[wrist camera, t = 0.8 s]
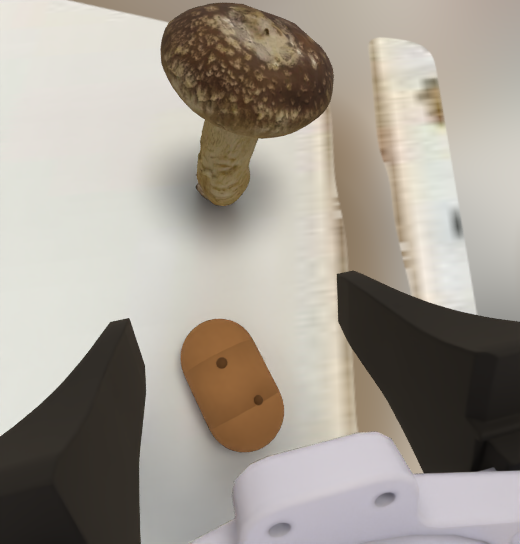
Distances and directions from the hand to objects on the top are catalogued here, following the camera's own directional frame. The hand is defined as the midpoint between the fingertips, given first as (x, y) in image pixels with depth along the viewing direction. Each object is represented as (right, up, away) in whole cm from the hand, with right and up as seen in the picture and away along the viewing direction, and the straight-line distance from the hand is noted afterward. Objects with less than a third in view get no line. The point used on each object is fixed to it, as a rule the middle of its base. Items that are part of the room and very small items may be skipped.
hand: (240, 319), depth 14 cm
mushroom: (-3, +8, +19) cm, 21 cm away
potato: (-2, -6, +14) cm, 15 cm away
